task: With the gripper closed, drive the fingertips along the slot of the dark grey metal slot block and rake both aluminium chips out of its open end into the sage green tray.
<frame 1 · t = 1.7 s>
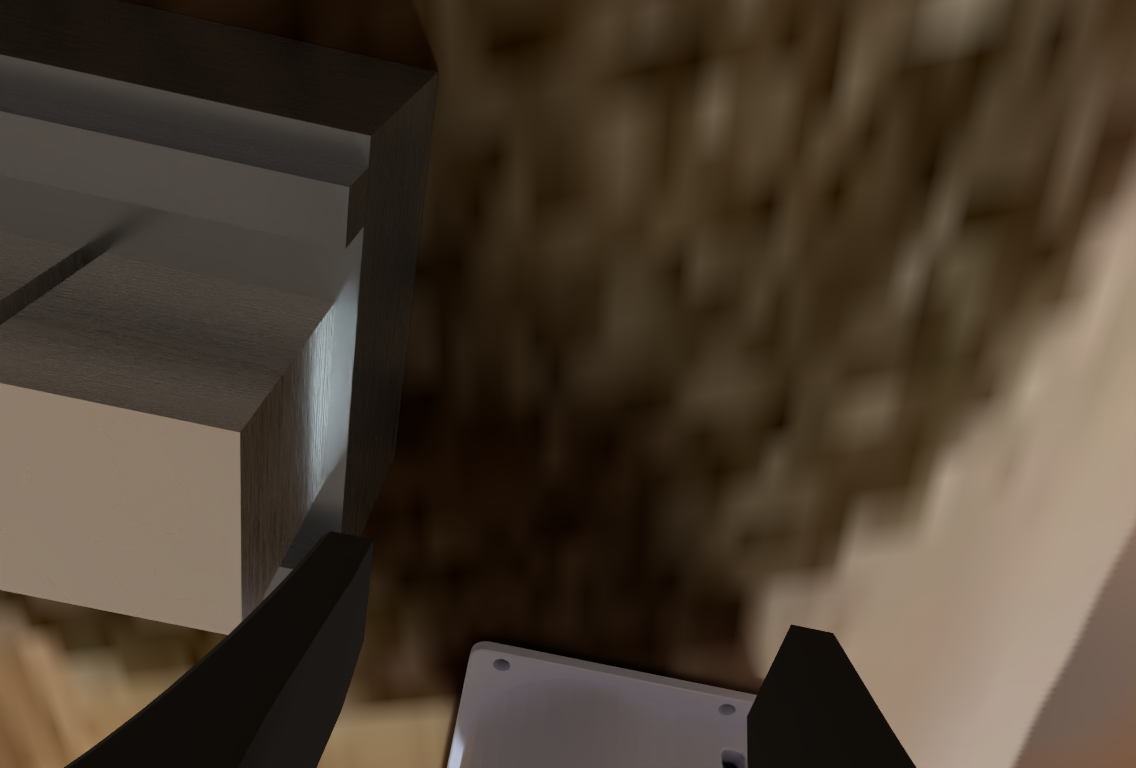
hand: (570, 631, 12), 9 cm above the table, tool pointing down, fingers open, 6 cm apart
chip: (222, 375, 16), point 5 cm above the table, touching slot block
slot block: (224, 248, 20), on the table
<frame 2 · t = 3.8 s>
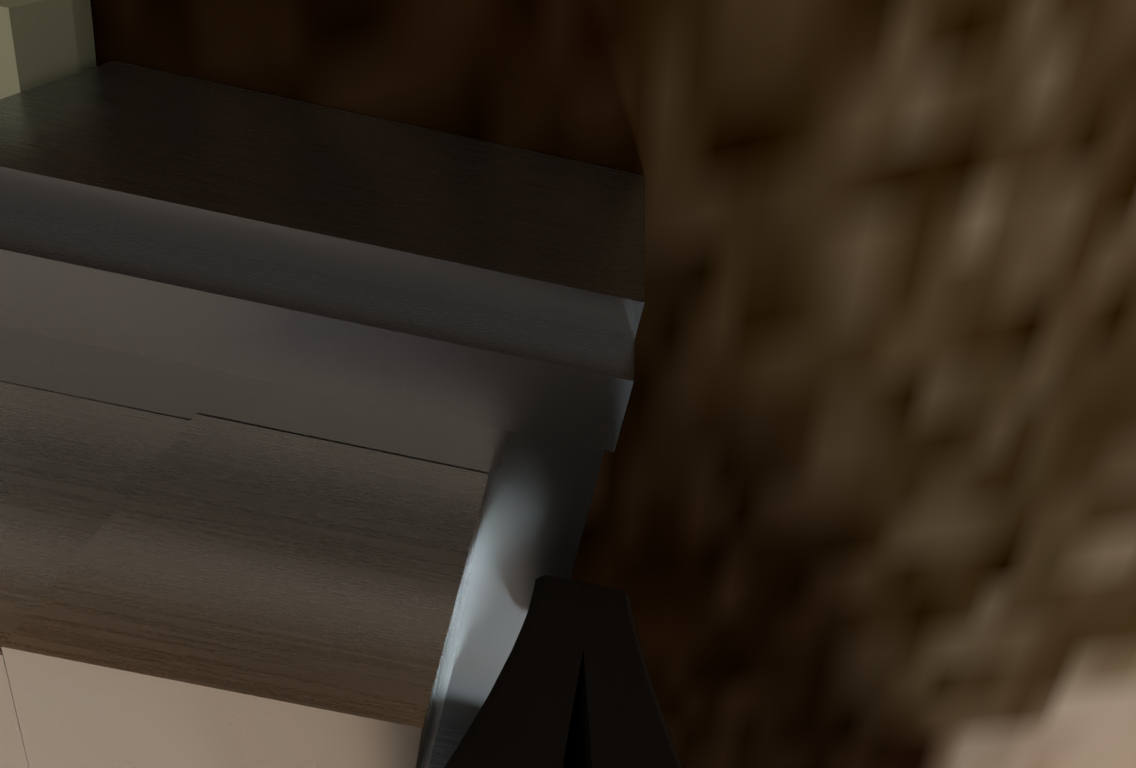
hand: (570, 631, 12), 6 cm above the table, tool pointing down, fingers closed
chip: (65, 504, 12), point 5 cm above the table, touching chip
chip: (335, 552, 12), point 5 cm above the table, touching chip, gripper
slot block: (362, 370, 17), on the table
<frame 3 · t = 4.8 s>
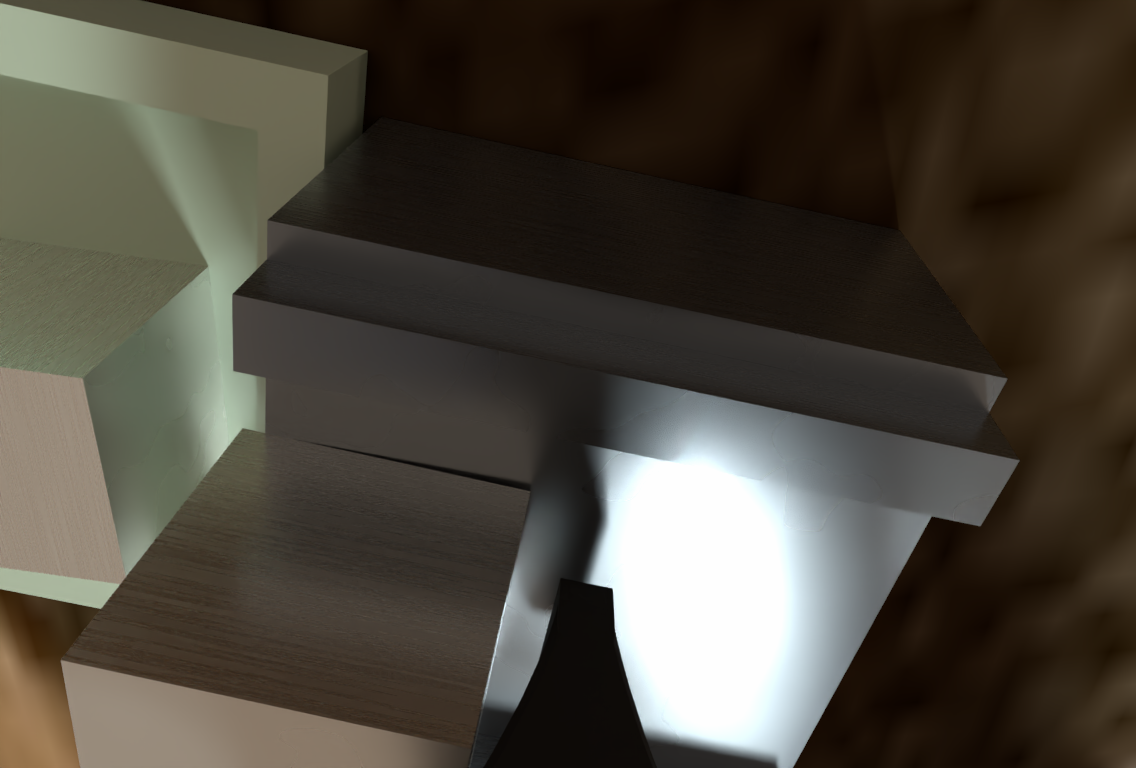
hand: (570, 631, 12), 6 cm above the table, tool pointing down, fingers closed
tray: (94, 312, 17), on the table
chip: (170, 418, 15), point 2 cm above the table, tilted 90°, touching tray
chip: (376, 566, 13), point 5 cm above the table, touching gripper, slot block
slot block: (583, 415, 17), on the table
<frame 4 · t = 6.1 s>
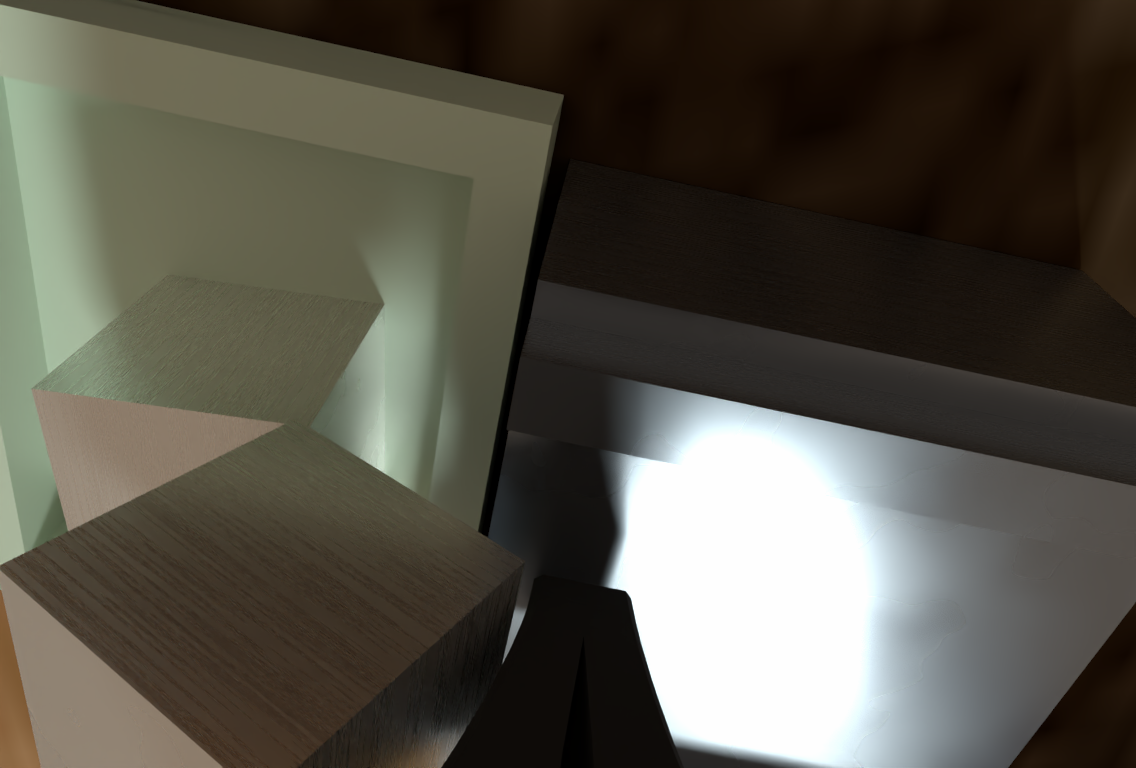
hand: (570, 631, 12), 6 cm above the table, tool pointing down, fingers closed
tray: (257, 348, 17), on the table
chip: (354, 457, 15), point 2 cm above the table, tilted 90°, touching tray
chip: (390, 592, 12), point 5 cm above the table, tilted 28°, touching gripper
slot block: (741, 448, 17), on the table
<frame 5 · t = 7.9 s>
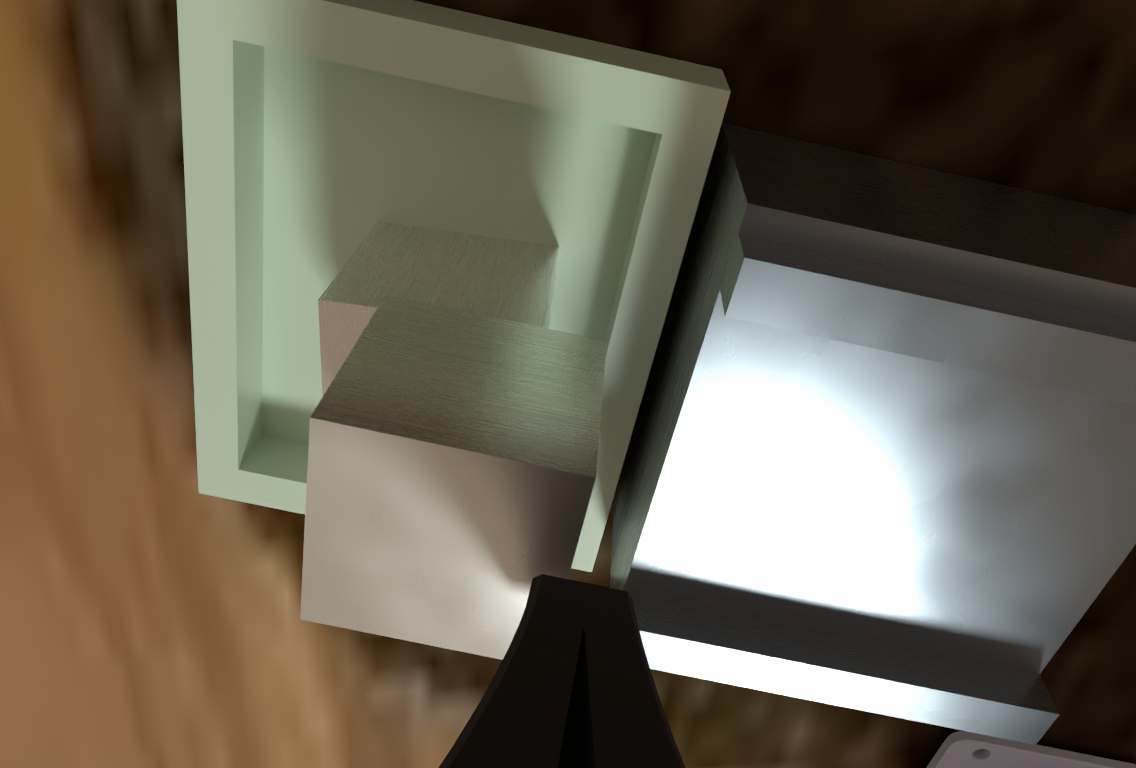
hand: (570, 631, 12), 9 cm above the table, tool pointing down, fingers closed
tray: (440, 286, 20), on the table
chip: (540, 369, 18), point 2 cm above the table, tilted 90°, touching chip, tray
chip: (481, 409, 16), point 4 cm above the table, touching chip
slot block: (845, 371, 20), on the table
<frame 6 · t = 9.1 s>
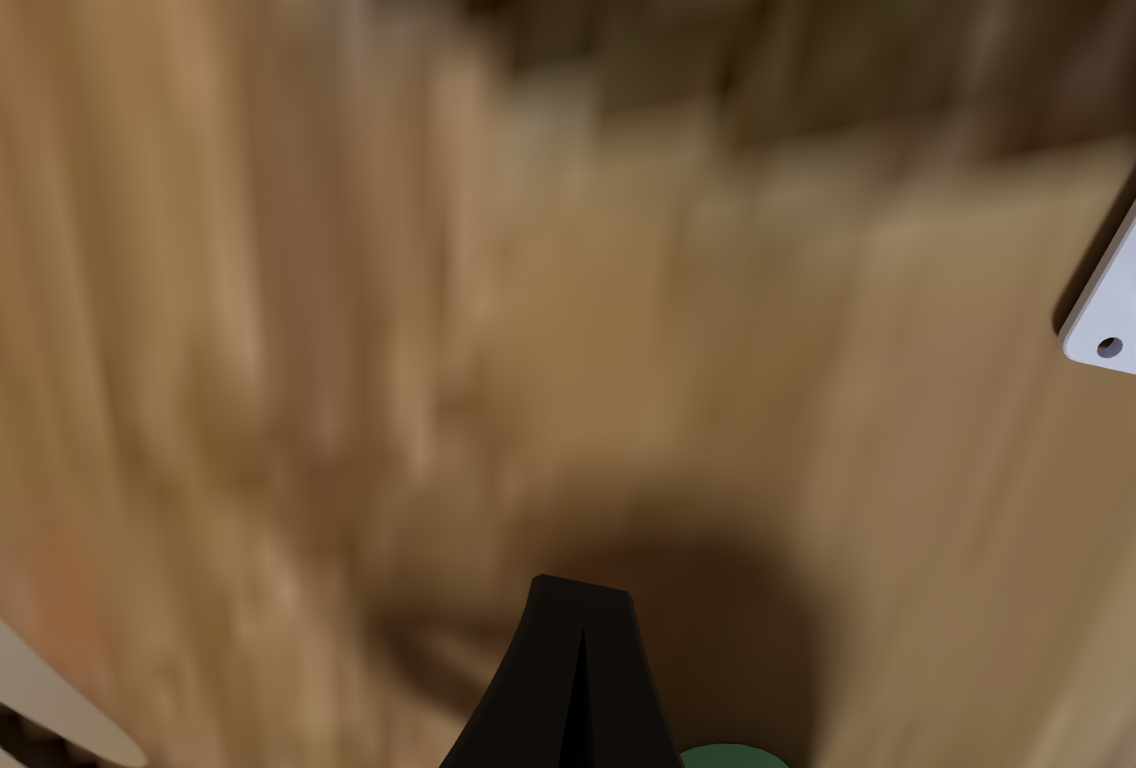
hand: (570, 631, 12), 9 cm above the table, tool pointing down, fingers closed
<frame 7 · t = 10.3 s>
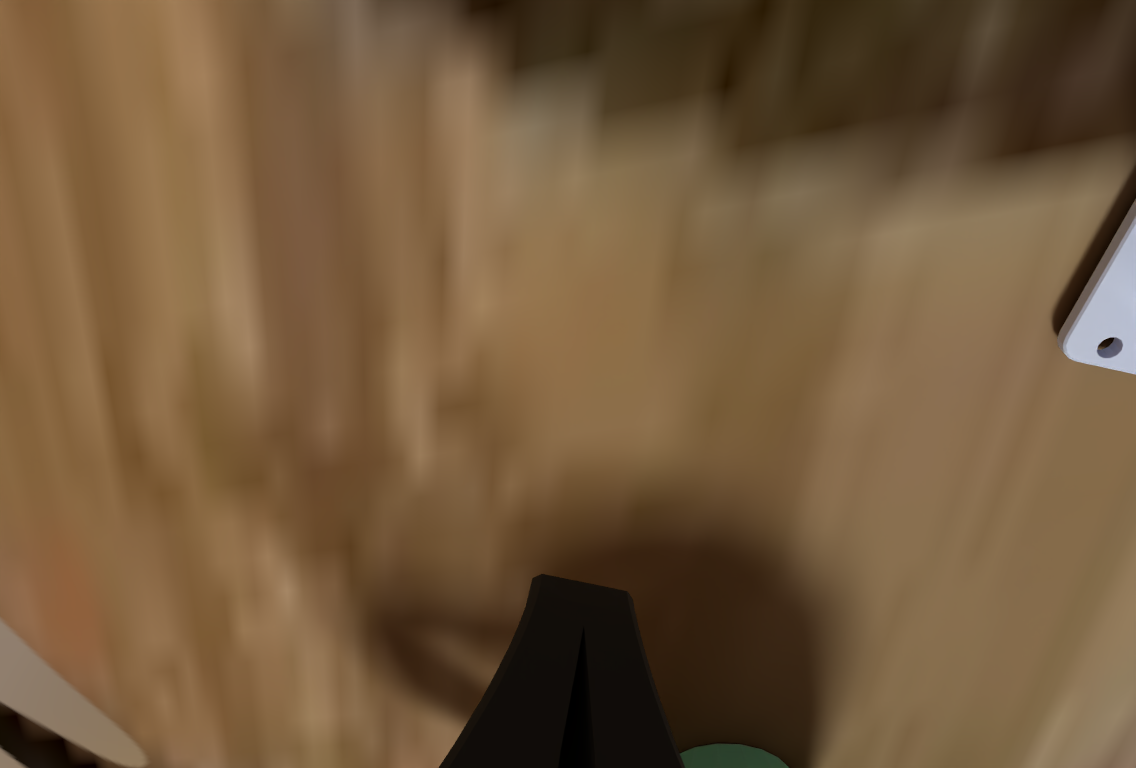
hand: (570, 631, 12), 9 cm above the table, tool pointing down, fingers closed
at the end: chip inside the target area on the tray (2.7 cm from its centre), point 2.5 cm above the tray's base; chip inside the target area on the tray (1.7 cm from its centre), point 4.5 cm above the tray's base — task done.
